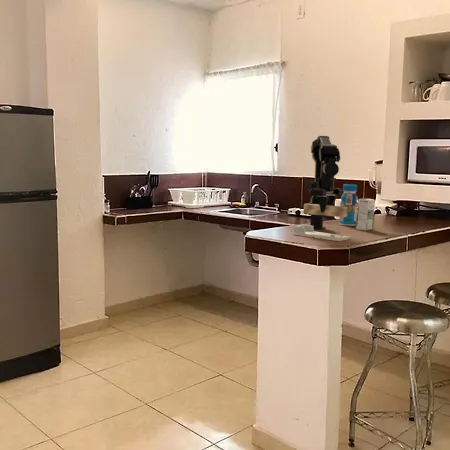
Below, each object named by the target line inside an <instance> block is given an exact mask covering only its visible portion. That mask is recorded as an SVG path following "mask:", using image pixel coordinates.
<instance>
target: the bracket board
mask: <svg viewBox="0 0 450 450" xmlns="http://www.w3.org/2000/svg"><path fill="white" fill-rule="evenodd" d="M292 235H293V236H294V235H295V236H302V237H308V238H313V237H314V238H315V239H320V238H321V240H329V241H336V242H342V241H345V240H350V239H351V235H345V233H344V232H339V234H336V233H330V232H321V231H315V229H314V226H311V225H310V224H309V225H308V224H300V225H299V224H298V225H294V227H293V231H292Z"/></svg>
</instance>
